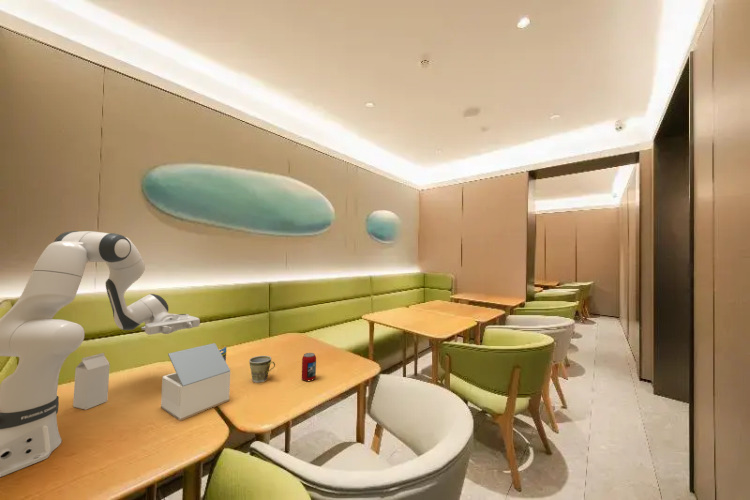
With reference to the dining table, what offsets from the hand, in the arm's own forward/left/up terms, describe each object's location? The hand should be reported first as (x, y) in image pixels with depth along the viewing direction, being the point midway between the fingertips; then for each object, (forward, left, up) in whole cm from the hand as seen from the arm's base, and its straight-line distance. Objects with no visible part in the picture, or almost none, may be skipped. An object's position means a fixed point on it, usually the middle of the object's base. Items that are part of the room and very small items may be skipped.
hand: (181, 327), depth 123 cm
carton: (-4, -15, -28) cm, 32 cm away
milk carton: (-18, +23, -28) cm, 41 cm away
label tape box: (+23, +3, -28) cm, 37 cm away
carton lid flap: (-4, -16, -12) cm, 20 cm away
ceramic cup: (+24, -24, -28) cm, 44 cm away
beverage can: (+33, -44, -28) cm, 62 cm away
